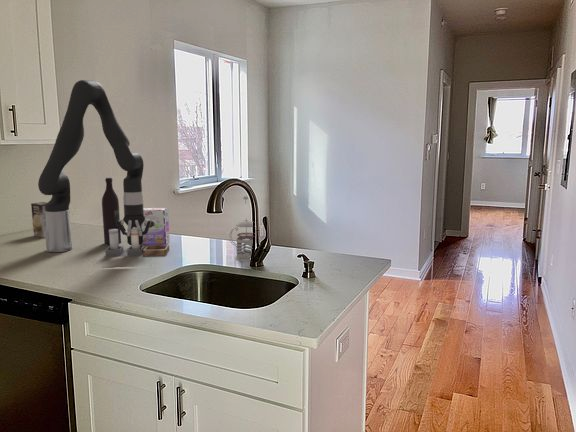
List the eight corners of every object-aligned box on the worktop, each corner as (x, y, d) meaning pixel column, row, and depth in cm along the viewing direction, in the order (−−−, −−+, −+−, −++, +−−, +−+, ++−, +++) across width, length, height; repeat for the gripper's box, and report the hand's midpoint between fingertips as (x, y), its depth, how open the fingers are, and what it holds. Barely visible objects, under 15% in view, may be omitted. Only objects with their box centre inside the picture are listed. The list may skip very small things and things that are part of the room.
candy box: (170, 243, 224) (168, 207, 222) (165, 246, 219) (164, 209, 216) (140, 243, 226) (139, 207, 223) (135, 245, 220) (133, 209, 217)
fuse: (109, 255, 200) (107, 230, 199) (111, 252, 204) (109, 229, 202) (118, 254, 201) (116, 230, 199) (120, 252, 204) (119, 228, 202)
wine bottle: (117, 246, 219) (113, 178, 214) (102, 246, 219) (97, 178, 214) (123, 242, 226) (119, 177, 221) (108, 242, 226) (103, 177, 221)
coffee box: (33, 235, 242) (30, 203, 239) (45, 233, 247) (42, 201, 244) (44, 237, 237) (41, 204, 234) (56, 235, 242) (53, 203, 240)
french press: (255, 261, 192) (254, 198, 188) (226, 260, 195) (225, 197, 190) (261, 255, 202) (261, 194, 198) (234, 254, 204) (233, 194, 200)
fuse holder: (104, 258, 198) (104, 250, 197) (110, 253, 206) (109, 245, 206) (141, 257, 199) (141, 249, 199) (145, 252, 208) (145, 244, 207)
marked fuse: (130, 253, 201) (129, 229, 199) (132, 251, 205) (131, 227, 203) (139, 253, 201) (138, 229, 200) (141, 251, 205) (140, 227, 203)
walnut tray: (143, 257, 199) (142, 250, 199) (147, 252, 208) (146, 245, 208) (166, 257, 200) (166, 249, 199) (169, 251, 209) (169, 244, 208)
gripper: (113, 204, 195) (115, 247, 198) (149, 204, 197) (151, 246, 200) (117, 201, 203) (119, 243, 205) (152, 201, 204) (154, 242, 207)
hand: (135, 244), depth 202 cm, fingers closed on marked fuse, 3 cm apart
